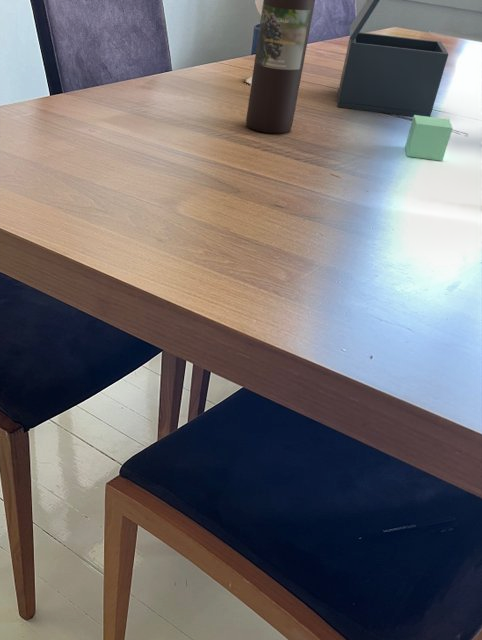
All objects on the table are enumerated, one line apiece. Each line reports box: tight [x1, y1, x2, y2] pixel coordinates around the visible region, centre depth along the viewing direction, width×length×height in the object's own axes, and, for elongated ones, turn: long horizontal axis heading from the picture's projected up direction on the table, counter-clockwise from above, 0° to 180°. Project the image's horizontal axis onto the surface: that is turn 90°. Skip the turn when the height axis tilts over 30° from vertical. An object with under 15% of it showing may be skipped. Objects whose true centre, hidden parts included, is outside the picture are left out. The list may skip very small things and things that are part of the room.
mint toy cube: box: [404, 115, 453, 162], centre depth 105 cm, size 5×5×4 cm
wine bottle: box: [245, 0, 316, 135], centre depth 102 cm, size 7×7×30 cm
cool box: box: [336, 31, 449, 117], centre depth 127 cm, size 16×13×10 cm
